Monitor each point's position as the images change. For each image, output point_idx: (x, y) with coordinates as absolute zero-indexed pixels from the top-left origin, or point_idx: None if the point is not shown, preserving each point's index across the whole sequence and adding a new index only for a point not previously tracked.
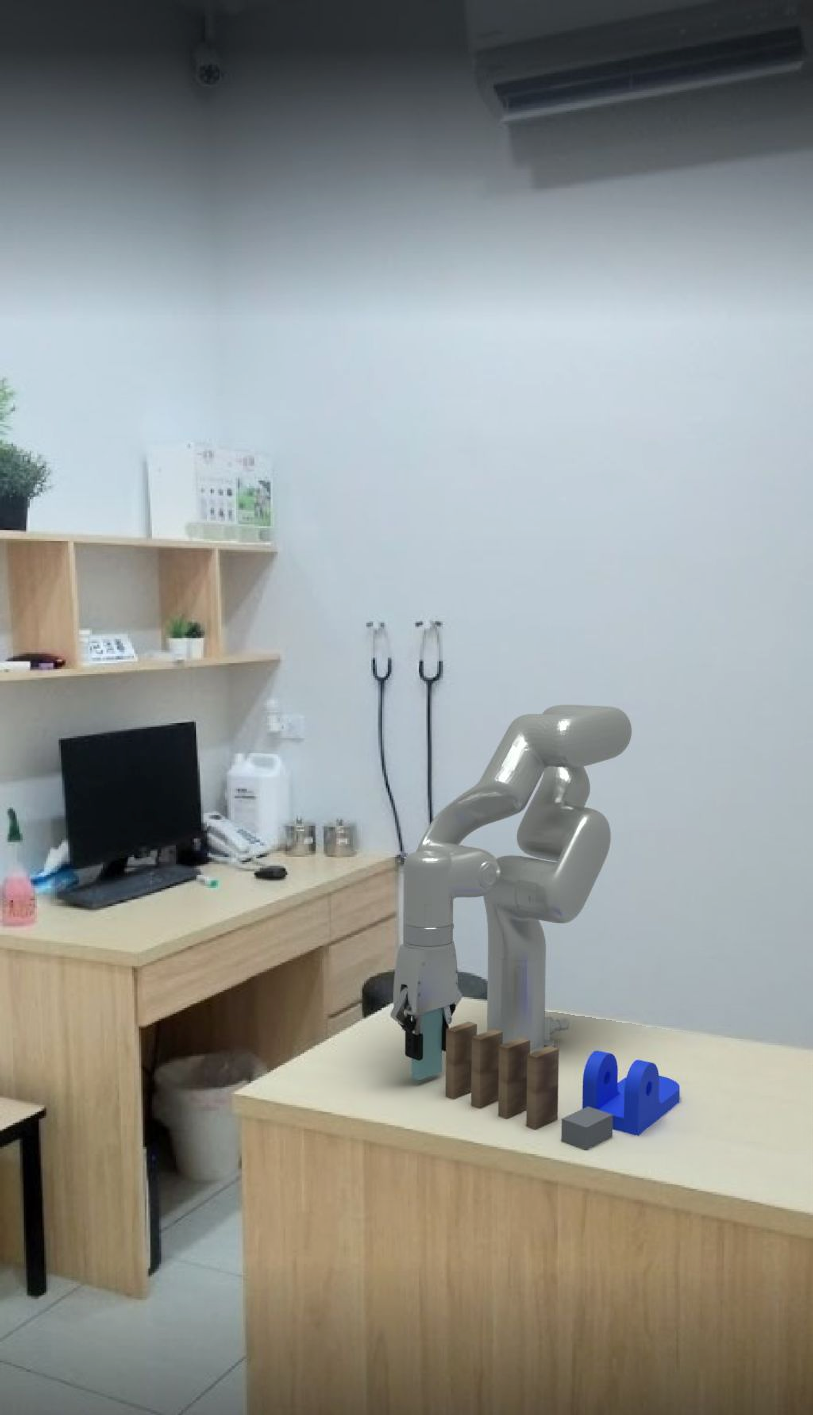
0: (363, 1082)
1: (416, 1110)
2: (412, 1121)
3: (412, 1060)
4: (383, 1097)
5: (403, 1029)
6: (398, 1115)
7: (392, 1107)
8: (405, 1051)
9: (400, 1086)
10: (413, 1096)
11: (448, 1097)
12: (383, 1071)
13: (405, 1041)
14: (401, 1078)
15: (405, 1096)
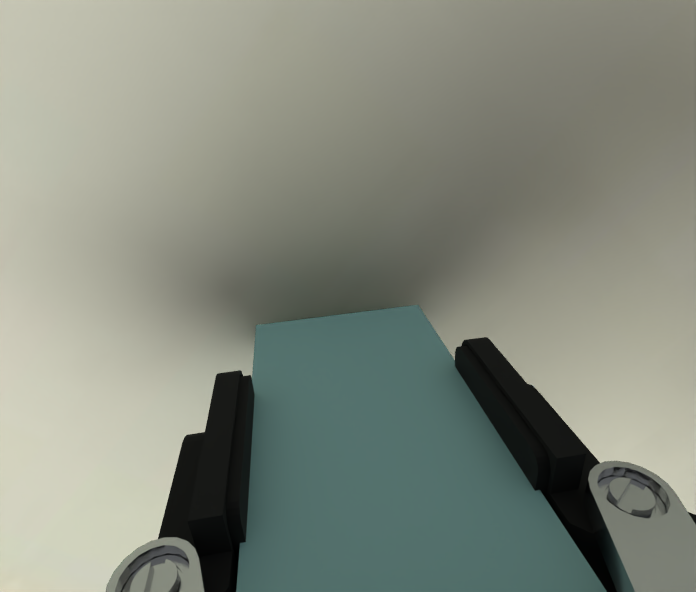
0: (34, 146)
1: (103, 513)
2: (35, 568)
3: (254, 380)
4: (40, 364)
5: (121, 584)
6: (9, 517)
7: (24, 458)
8: (215, 387)
9: (190, 308)
10: (173, 418)
11: None
12: (240, 81)
13: (204, 439)
14: (259, 232)
15: (142, 403)
